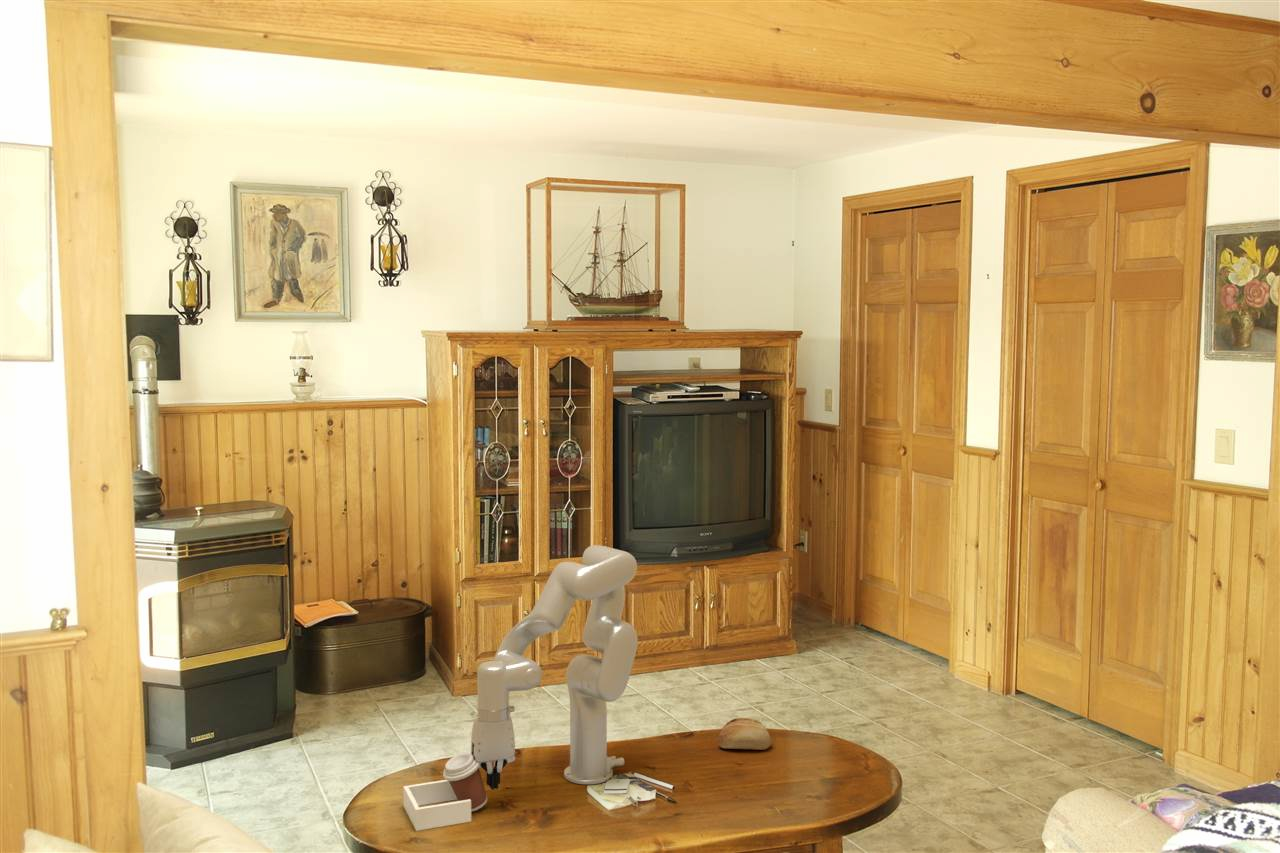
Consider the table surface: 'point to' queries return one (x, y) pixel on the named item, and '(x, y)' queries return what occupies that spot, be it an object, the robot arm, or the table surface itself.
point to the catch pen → (435, 813)
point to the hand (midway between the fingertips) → (493, 787)
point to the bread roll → (744, 735)
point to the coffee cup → (466, 779)
